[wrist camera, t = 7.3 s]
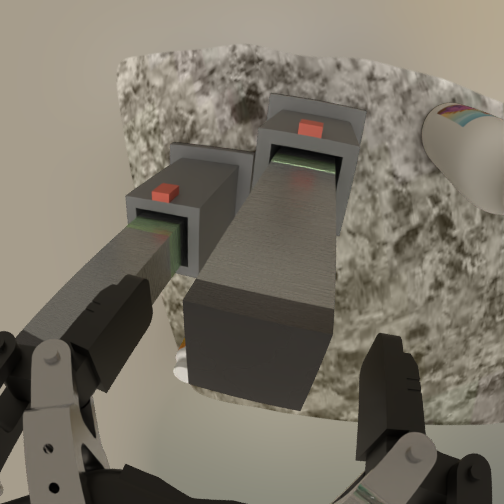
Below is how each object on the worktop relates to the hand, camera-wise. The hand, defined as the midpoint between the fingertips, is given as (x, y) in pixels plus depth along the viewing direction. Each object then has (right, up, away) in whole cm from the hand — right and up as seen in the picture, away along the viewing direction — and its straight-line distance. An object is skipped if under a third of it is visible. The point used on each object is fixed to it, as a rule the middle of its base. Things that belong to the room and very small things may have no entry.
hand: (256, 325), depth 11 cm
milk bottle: (+21, +15, +18) cm, 32 cm away
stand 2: (+6, +14, +23) cm, 27 cm away
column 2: (+5, +10, +17) cm, 20 cm away
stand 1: (-5, +10, +28) cm, 30 cm away
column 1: (-7, +7, +22) cm, 24 cm away
